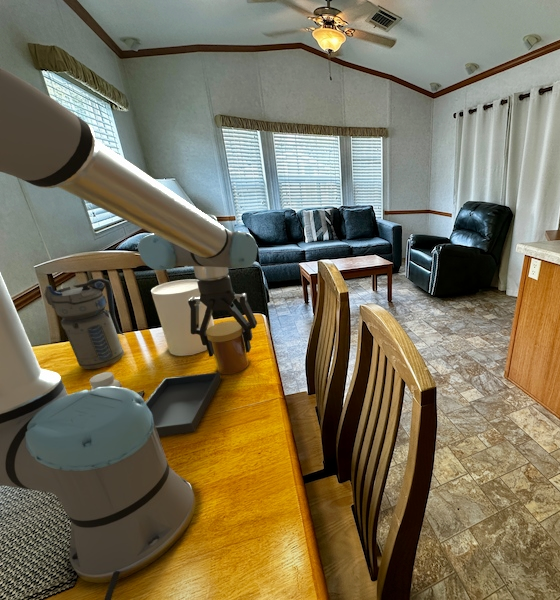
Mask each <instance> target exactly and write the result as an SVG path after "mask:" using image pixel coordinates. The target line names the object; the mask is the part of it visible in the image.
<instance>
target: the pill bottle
mask: <svg viewBox="0 0 560 600" xmlns="http://www.w3.org/2000/svg"><path fill="white" fill-rule="evenodd" d="M89 383H90V386H91V388H90V389H89V391H92V390H94V389H95V388H97V387H109V386H113V387H123V386H122V383H121V382H120V380H118V379H115V375H114V373H113V372H111V371H105V372H101V373H98V374H96V375H95V374H94V375H93V376H92V377H90V379H89Z"/></svg>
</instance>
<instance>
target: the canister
mask: <svg viewBox="0 0 560 600" xmlns="http://www.w3.org/2000/svg"><path fill="white" fill-rule="evenodd" d="M197 280H198V279H196V278H195V279H193V278H192V279H191V278H189V279H180V280H173V281H169V282H164V283H161V284H158V285H155V286H154V287H152V288H151V290H150V292H151V295H152V300H153V303H154V306H155V309H156V312H157V316H158V319H159V322H160V325H161V329H162V333H163V335H164V338H165V342H166V345H167V348H168V352H169V353H170V354H171V355H173V356H176V357H177V356H178V357H183V356H184V357H185V356H191V355H197V354H199V353H203V352H205V351H208V350H207V346H206V345H203V344H202V341H201V338H200V335H198V334H191V308H190V306H189V304H188V301H189V300H190V299H191V298H192V297H195V298H197V297H200V292H199V288H198V284H197ZM206 308H207V306H205V305H204V304H203V303H202V302H200V304H199V328H201V325H202V322H203V319H204V315H205V311H206ZM213 325H215V321H214V318H213V314H212V315H211V318H210V321H209V324H208V327H207V329H208V328H209V327H211V326H213Z"/></svg>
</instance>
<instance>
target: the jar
mask: <svg viewBox="0 0 560 600" xmlns="http://www.w3.org/2000/svg"><path fill="white" fill-rule="evenodd" d="M211 345H212V349H213V353H214V354H213V357H214V360H215V364H216V368H217V371H218V372H220V375H221V374H222V375H233V374H237V373H240V372H242V371H244V370H245V369H246V368H247V367H248V366H249V363H250V362H249V358H248V353H246V349H245V344H244V339H243V334H242V335H241V336H239V337H237V338H235V339H232V340H229V341H224V342H212V341H211Z"/></svg>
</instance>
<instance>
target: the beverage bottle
mask: <svg viewBox="0 0 560 600" xmlns="http://www.w3.org/2000/svg"><path fill="white" fill-rule="evenodd" d="M72 286H73V287H74V288H71V287H70V286H67V287H62V288H60V289H56V290H54V289H53V286H52V285H51V284H50V285H46V286H45V290H44V293H43V295H44V297H45V300H46V302H47V304H48V305H50V306H51V308H52V309H54V310H55V313H56V315H57V316H58V317H60V318H62V319H61V320H60V324H61V327H62V329H63V330H64V333H65V336H66V337H67V340H68V342H69V344H70V347H71V349H72V351H73V354H74V356H75V358H76V362H77V364H78V366H79V367H80V368H82V369H84V370H96V369H101V368H105V367H108V366H110V365H112V364H115V363H116V362H118V361H120V360H121V359H122V358H123V357H124V354H125V351H124V348H123V346H122V343H121V341H120V340H121V339H120V338H119V337H120V336H119V335H122V336H125V334H124V333H123V332H121V330H120V327H119V323H118V320H117V318H116V313H115V304H114V296H113V288H112V285H111V281H110V280H108V279H105V278H101V277H97V278H93V279H89V280H88V281H86V282H83V283H78V284H74V285H72ZM90 286H92V287H90ZM105 289H106V296H105V295H104V293H103V292H104V290H105ZM106 298H107V299H106ZM107 305H108V310H107V309H105V308H106V306H107Z"/></svg>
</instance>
